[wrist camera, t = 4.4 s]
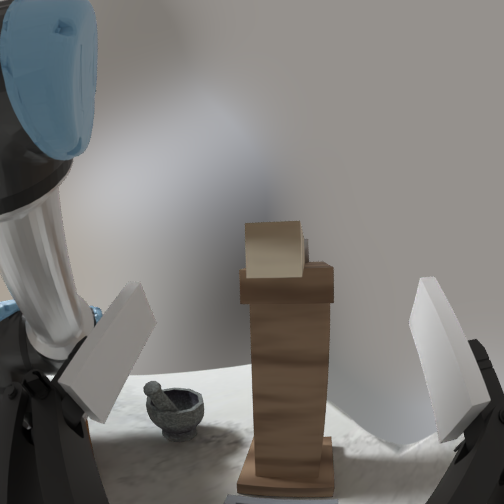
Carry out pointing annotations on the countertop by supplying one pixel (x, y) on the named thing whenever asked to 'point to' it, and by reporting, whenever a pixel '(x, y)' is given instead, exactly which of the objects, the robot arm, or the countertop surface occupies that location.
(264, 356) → the post stand
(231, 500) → the tray
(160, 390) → the mortar and pestle
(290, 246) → the bar
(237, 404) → the countertop surface
